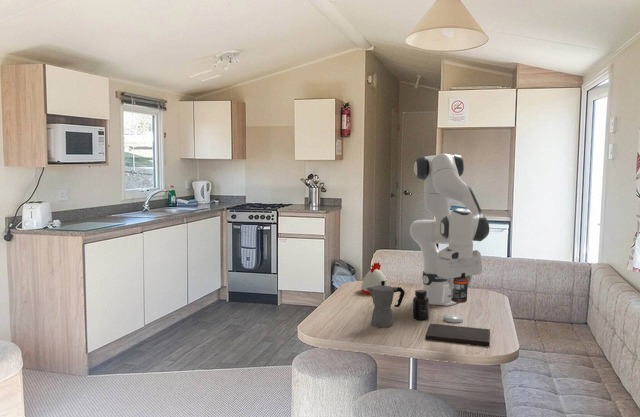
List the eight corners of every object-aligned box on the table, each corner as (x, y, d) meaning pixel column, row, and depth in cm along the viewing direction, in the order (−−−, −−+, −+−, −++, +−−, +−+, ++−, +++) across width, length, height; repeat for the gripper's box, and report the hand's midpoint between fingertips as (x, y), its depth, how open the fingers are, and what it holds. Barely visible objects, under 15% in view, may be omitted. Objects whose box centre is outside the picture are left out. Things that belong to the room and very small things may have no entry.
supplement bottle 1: (429, 317, 230) (430, 289, 229) (427, 321, 223) (428, 293, 222) (413, 315, 232) (414, 288, 231) (411, 320, 226) (411, 292, 224)
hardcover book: (429, 328, 216) (429, 323, 216) (489, 335, 209) (489, 329, 209) (425, 341, 201) (425, 335, 201) (489, 348, 194) (489, 342, 194)
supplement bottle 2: (457, 298, 208) (458, 269, 207) (470, 301, 203) (471, 272, 202) (447, 300, 204) (448, 271, 203) (460, 304, 199) (461, 274, 198)
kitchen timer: (393, 291, 275) (394, 262, 274) (378, 296, 265) (378, 266, 263) (371, 287, 284) (372, 259, 283) (355, 291, 274) (356, 262, 273)
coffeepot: (365, 326, 216) (366, 282, 214) (366, 320, 225) (367, 277, 224) (404, 328, 214) (405, 284, 212) (403, 321, 223) (404, 279, 222)
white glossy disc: (453, 316, 232) (453, 313, 232) (467, 321, 225) (467, 318, 225) (439, 318, 228) (439, 316, 228) (452, 323, 221) (452, 321, 221)
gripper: (474, 248, 210) (472, 283, 211) (434, 252, 199) (433, 289, 201) (486, 251, 204) (485, 286, 205) (446, 255, 194) (445, 293, 195)
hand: (459, 288), depth 203 cm, fingers closed on supplement bottle 2, 6 cm apart
